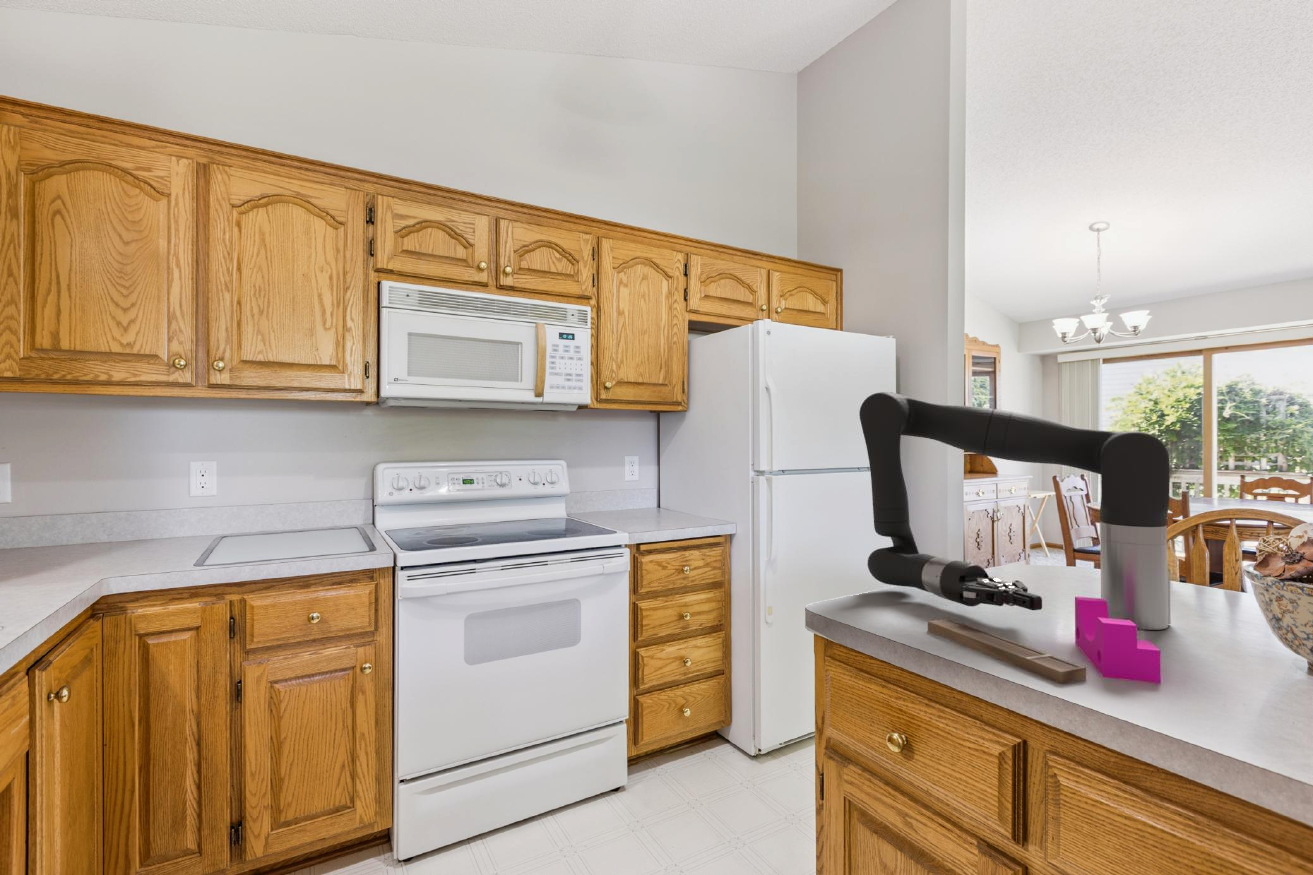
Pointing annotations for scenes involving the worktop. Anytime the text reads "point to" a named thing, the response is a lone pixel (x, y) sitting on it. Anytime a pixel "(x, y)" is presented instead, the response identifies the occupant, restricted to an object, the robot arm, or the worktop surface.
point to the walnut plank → (1009, 651)
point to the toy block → (1114, 643)
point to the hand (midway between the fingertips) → (1038, 603)
